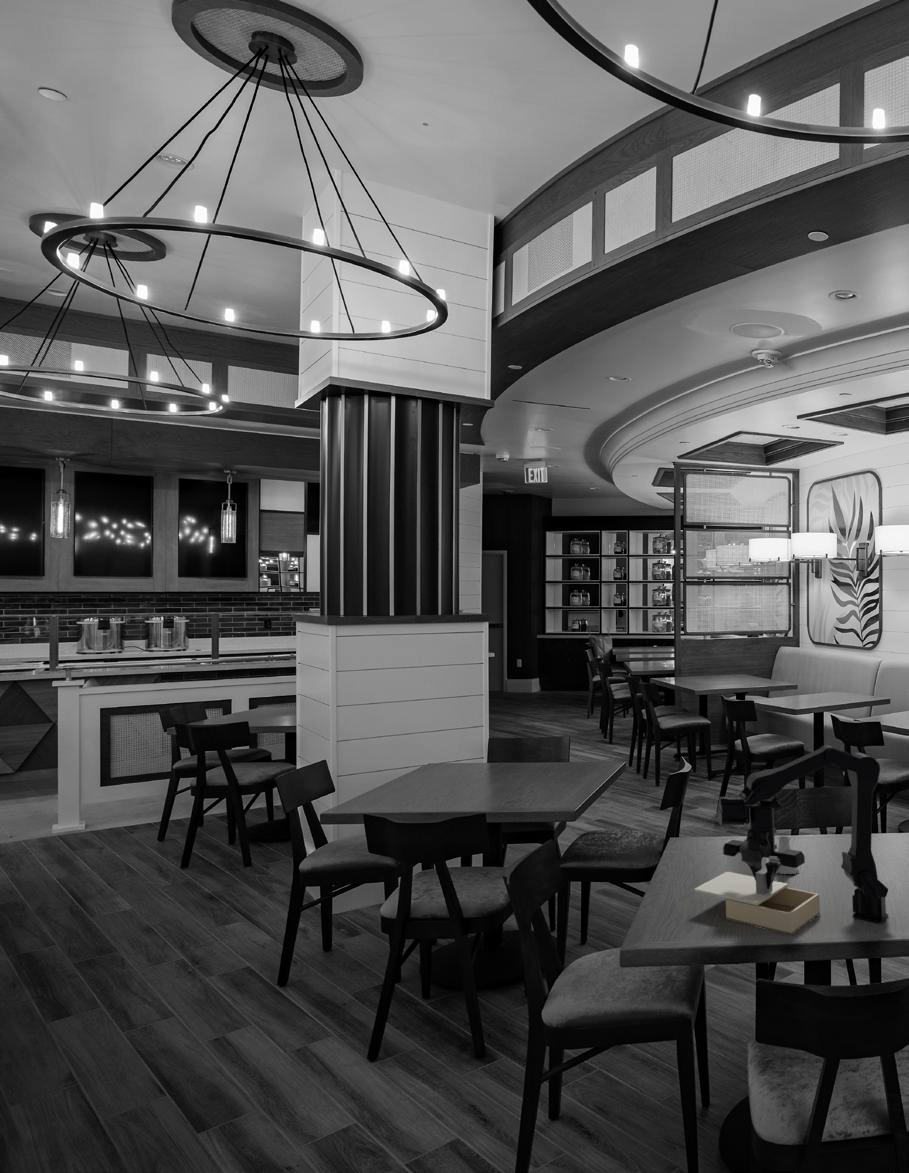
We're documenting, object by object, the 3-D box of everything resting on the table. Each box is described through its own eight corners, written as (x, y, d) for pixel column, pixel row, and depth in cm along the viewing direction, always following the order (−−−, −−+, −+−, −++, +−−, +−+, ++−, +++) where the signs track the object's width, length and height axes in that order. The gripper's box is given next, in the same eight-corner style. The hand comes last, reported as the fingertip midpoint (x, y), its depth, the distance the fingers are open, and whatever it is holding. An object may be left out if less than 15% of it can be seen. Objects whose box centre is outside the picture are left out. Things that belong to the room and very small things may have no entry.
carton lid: (788, 886, 215) (787, 864, 216) (757, 905, 202) (756, 881, 202) (727, 873, 227) (726, 852, 227) (694, 891, 213) (693, 868, 214)
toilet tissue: (726, 883, 235) (725, 846, 236) (728, 870, 247) (727, 835, 247) (767, 886, 232) (765, 849, 232) (767, 873, 243) (765, 838, 243)
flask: (785, 877, 239) (783, 841, 239) (766, 870, 246) (765, 835, 246) (804, 873, 242) (803, 838, 242) (785, 867, 249) (784, 832, 249)
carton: (819, 914, 210) (819, 894, 210) (791, 935, 197) (790, 914, 197) (757, 900, 221) (756, 881, 221) (726, 919, 208) (725, 899, 208)
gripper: (712, 825, 211) (714, 888, 211) (786, 837, 199) (788, 904, 198) (731, 817, 219) (734, 877, 219) (804, 828, 207) (806, 892, 206)
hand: (764, 887), depth 210 cm, fingers closed on carton lid, 2 cm apart
